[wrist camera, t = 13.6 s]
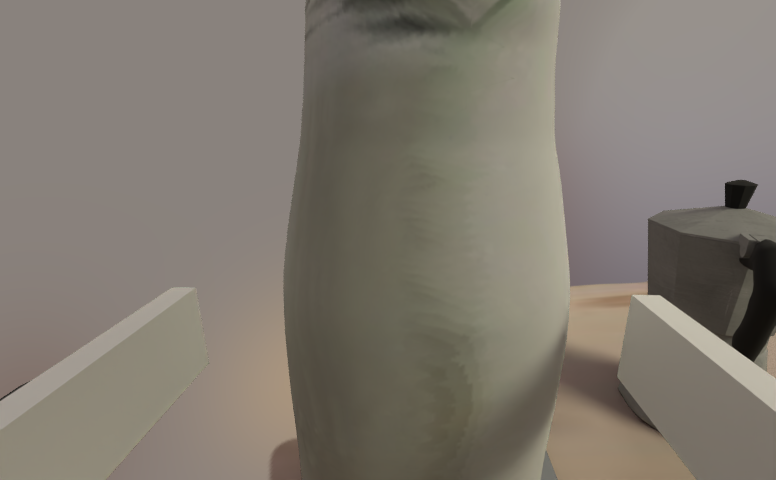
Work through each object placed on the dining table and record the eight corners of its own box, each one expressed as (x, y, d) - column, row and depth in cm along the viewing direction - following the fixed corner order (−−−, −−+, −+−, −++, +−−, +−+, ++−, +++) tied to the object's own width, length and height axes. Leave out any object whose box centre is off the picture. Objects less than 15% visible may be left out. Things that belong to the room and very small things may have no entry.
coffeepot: (612, 350, 38) (644, 167, 33) (734, 376, 34) (793, 171, 29) (624, 473, 25) (681, 199, 20) (826, 539, 21) (966, 216, 16)
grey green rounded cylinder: (300, 510, 22) (243, -65, 14) (457, 462, 25) (489, -32, 17) (330, 772, 13) (223, -402, 5) (568, 649, 16) (752, -204, 8)
